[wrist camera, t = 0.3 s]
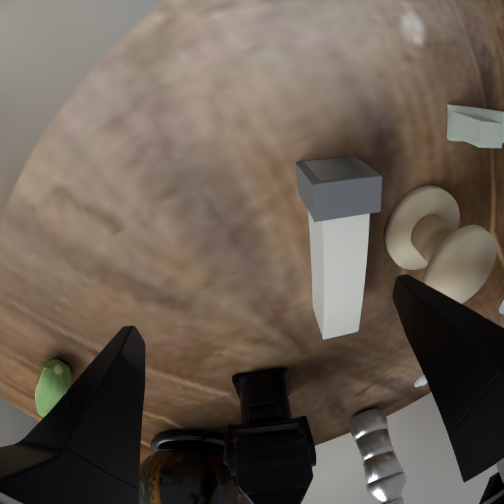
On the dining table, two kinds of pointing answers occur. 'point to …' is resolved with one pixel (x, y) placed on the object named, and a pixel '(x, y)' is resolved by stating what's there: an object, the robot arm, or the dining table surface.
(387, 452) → the plastic bottle
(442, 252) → the bobbin
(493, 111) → the notched board
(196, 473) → the amphora vase
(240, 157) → the dining table surface
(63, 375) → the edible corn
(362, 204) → the mallet
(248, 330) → the dining table surface
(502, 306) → the chalice
